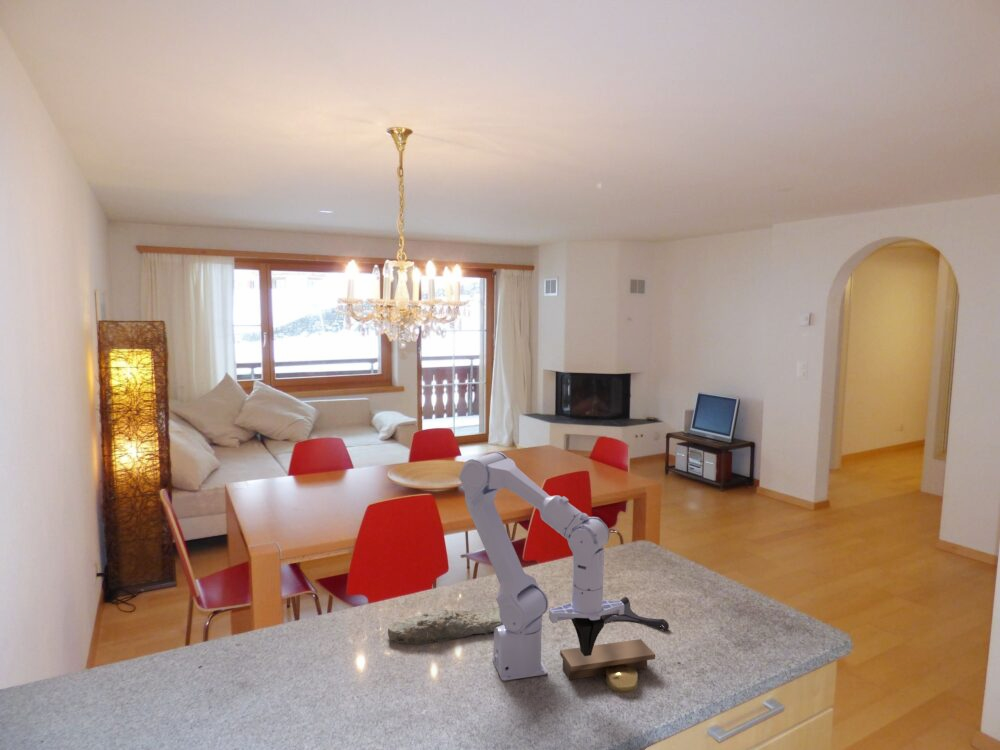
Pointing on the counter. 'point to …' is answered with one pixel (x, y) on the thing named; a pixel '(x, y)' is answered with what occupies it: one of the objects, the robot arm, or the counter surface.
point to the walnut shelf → (605, 658)
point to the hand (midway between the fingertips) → (585, 653)
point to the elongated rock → (444, 626)
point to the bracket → (635, 617)
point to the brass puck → (621, 678)
